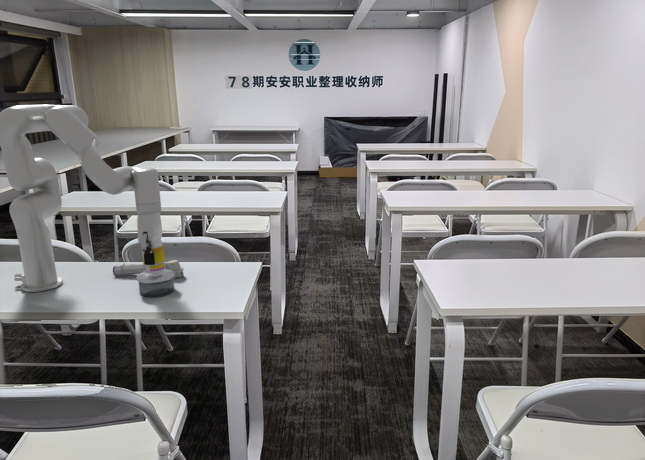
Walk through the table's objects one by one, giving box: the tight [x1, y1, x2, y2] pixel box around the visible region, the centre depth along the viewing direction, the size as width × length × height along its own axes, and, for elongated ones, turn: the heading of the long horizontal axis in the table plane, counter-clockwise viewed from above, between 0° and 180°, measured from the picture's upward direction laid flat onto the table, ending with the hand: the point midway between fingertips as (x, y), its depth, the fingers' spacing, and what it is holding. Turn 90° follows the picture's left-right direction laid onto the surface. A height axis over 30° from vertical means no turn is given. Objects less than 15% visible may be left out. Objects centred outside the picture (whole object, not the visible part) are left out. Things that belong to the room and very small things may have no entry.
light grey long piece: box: [112, 259, 185, 280], centre depth 182 cm, size 5×7×25 cm
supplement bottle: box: [141, 234, 166, 274], centre depth 165 cm, size 7×7×13 cm
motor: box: [135, 269, 175, 299], centre depth 169 cm, size 12×13×6 cm
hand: (153, 260), depth 166 cm, fingers closed on supplement bottle, 6 cm apart
